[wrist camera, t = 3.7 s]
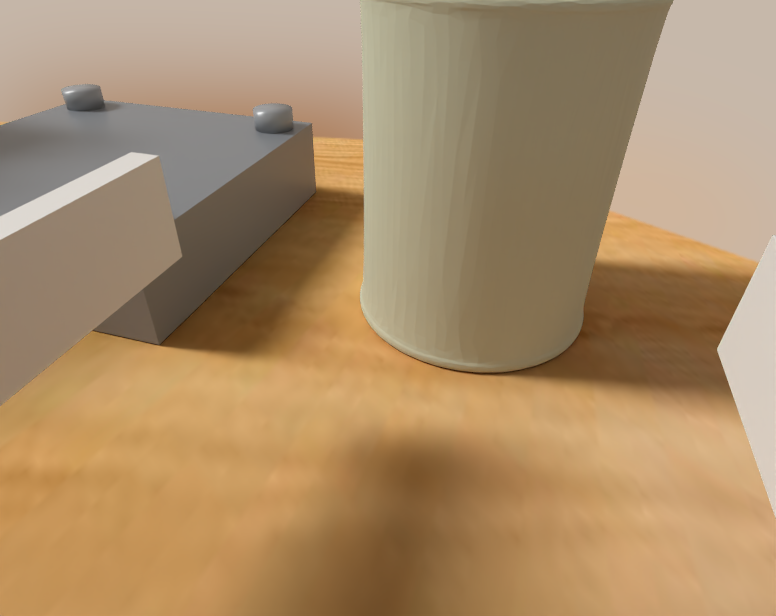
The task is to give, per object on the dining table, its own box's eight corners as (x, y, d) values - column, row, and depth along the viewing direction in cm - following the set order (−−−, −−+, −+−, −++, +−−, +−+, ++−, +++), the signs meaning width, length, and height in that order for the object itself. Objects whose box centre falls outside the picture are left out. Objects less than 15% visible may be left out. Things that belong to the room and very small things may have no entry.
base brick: (316, 191, 32) (310, 104, 29) (159, 344, 20) (123, 222, 17) (102, 162, 35) (78, 80, 32) (-142, 278, 23) (-215, 165, 20)
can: (527, 241, 27) (581, -42, 20) (627, 358, 20) (767, -24, 13) (346, 255, 25) (338, -45, 19) (382, 388, 18) (389, -28, 11)
